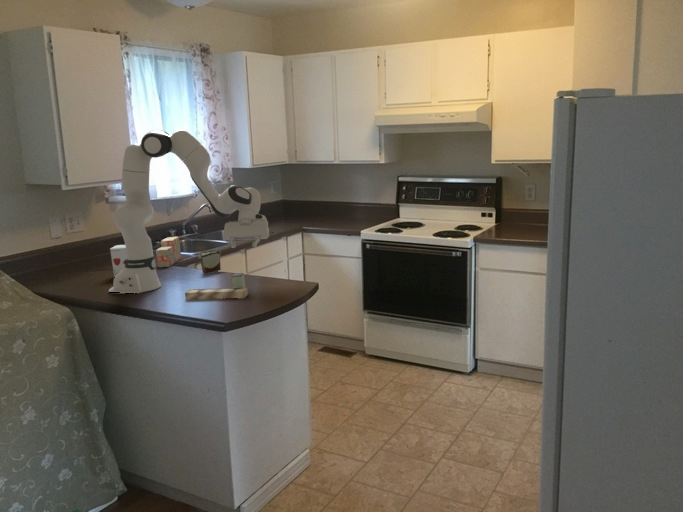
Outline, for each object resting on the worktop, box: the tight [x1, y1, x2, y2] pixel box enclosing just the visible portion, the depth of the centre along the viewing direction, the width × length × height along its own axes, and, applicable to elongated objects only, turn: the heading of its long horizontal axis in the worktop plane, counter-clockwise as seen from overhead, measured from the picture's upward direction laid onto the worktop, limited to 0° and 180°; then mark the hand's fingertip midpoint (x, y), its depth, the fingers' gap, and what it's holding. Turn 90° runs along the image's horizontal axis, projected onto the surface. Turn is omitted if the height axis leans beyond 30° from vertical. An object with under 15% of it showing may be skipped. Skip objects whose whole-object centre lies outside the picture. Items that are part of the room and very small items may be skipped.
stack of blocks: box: [155, 236, 183, 268], centre depth 321 cm, size 21×6×12 cm, turn 178°
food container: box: [197, 249, 222, 275], centre depth 294 cm, size 12×6×10 cm, turn 141°
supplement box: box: [109, 244, 127, 278], centre depth 297 cm, size 9×9×15 cm
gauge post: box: [231, 272, 246, 288], centre depth 252 cm, size 4×4×8 cm
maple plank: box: [184, 287, 249, 301], centre depth 248 cm, size 25×5×3 cm, turn 82°
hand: (243, 246), depth 260 cm, fingers open, 8 cm apart
